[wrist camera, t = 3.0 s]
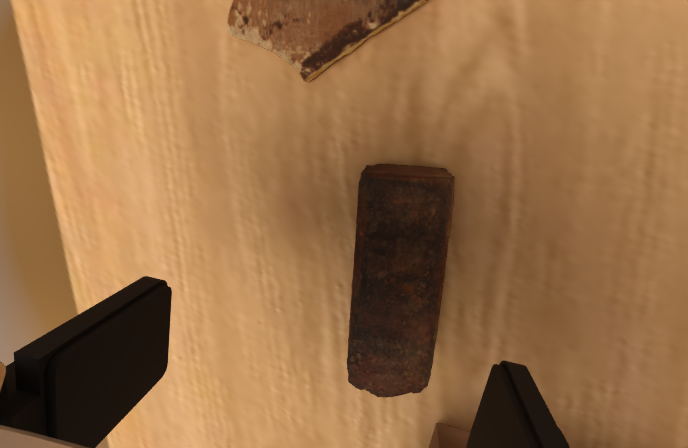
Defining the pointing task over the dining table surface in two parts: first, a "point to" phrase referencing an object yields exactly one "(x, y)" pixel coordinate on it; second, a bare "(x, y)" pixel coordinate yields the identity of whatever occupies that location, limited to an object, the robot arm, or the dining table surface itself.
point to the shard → (313, 27)
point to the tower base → (448, 437)
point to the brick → (398, 276)
